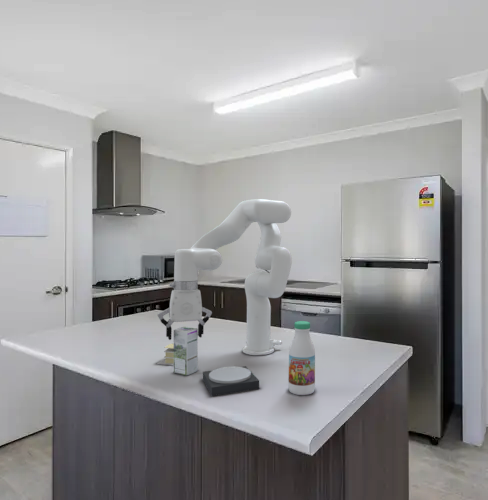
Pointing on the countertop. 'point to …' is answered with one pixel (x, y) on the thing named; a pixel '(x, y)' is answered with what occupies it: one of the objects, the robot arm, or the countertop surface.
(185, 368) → the syrup box
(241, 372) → the scale
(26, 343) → the countertop surface
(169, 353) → the stacked layers on plate
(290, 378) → the milk bottle
